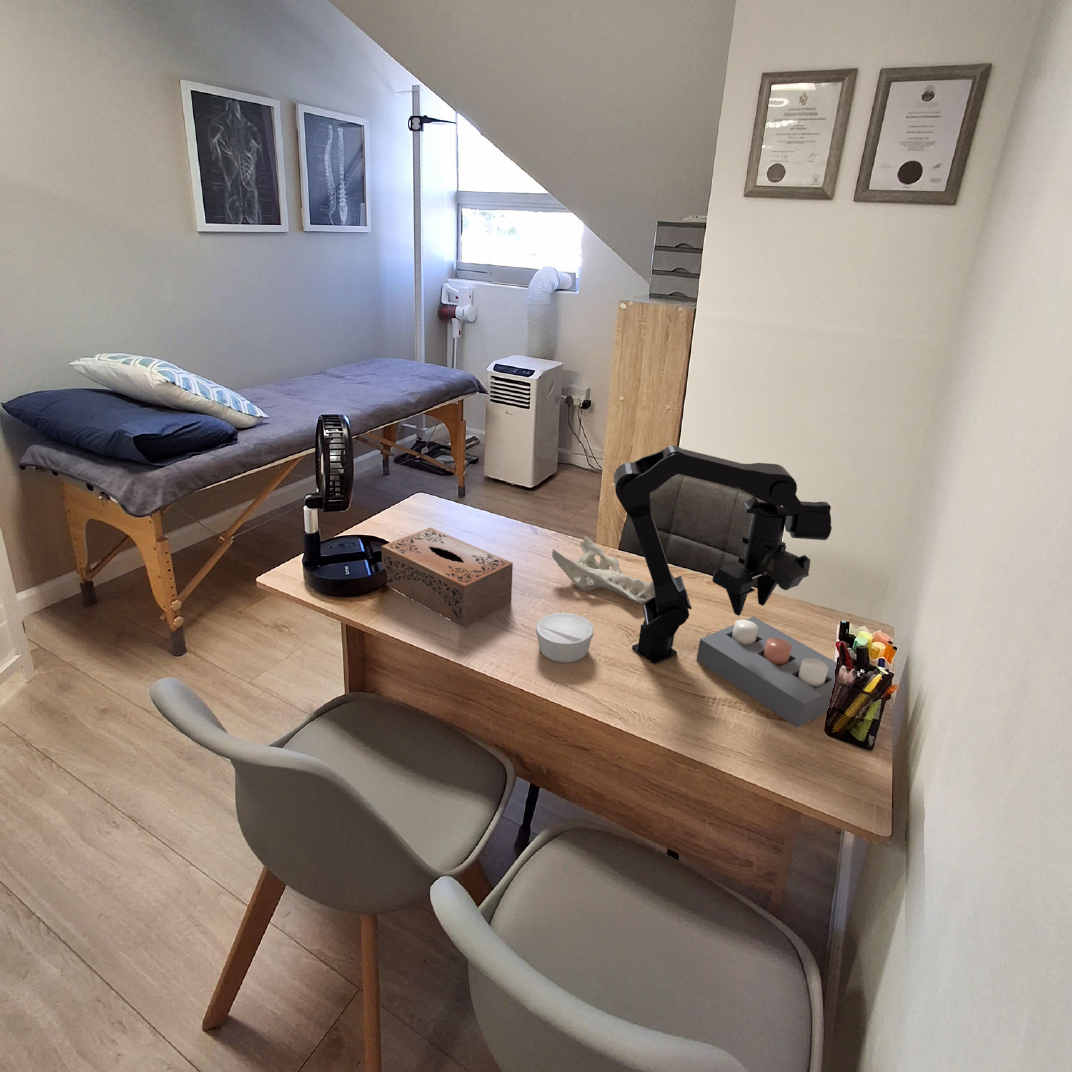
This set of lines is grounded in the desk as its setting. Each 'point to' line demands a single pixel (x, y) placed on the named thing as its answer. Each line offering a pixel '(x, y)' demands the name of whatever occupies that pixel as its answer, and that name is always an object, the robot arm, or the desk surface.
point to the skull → (602, 573)
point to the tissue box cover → (448, 575)
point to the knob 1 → (745, 632)
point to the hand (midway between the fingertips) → (749, 609)
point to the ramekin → (564, 636)
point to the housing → (768, 672)
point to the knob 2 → (813, 672)
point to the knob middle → (777, 651)
